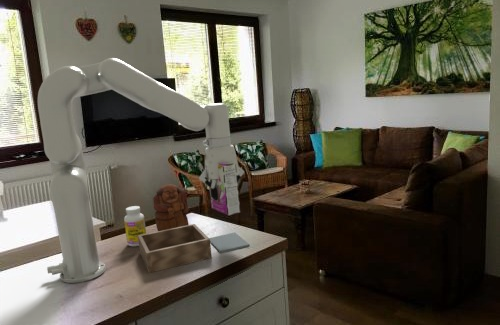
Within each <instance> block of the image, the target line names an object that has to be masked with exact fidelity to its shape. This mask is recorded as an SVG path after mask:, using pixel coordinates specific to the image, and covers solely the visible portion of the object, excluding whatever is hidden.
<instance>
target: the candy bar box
mask: <svg viewBox="0 0 500 325" xmlns="http://www.w3.org/2000/svg"><path fill="white" fill-rule="evenodd" d="M218 171H219V179H218V180H216V183H215V188H216V189H217V200H214V199H213V198H212V197H211V192H210V191H209V197H210V205H211V206H210V207H211V209H212V210H214V211H217V212H219V213H222V214H224V215H226V216H232V215H235V214H239V213H241V206H240V197H239V196H240V195H239V185H238V182H237V172H236V163H233V162H229V163H222V164H218ZM207 178H208V177H207ZM207 180H208V181H209V180H210V178H208V179H207ZM208 188H209V189H208V190H210V187H209V186H208Z"/></svg>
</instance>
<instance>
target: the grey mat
mask: <svg viewBox="0 0 500 325" xmlns="http://www.w3.org/2000/svg"><path fill="white" fill-rule="evenodd" d="M208 238H209V239H210V245H212V246H213V247H214V248H215V249H216V250H217V251H218V252H219V253H220V254H221V253H222V254H223V253H225V252H230V251H234V250H238V249H239V250H240V249H242V248H246V247H250V243H249V242H248V241H246V240H245V239H244V238H242V237H241V235H239V234H238V233H236V232H232V233H227V234H226V233H225V234H222V235H217V236H212V237H208Z"/></svg>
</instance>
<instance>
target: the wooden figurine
mask: <svg viewBox="0 0 500 325" xmlns="http://www.w3.org/2000/svg"><path fill="white" fill-rule="evenodd" d="M152 199H153V209H154V210H155V213H154V218H155V225H156V228H157V229H156V230H157V231H162V230H167V229H172V228H177V227H182V226H186V225H190V224H189V220H188V219H189V218H188V216H187V215H188V214H189V204H188V197H187V193H186V191H185V190H183V189H181V188H180V187H178V186H177V185H175V184H174V183H168V184H163V185H162V186H160V187H159V188H158V189H157V191H156V194H155V195H154V196H153V197H152Z"/></svg>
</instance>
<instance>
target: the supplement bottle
mask: <svg viewBox="0 0 500 325" xmlns="http://www.w3.org/2000/svg"><path fill="white" fill-rule="evenodd" d="M125 213H126V215H125V216H124V229H125V236H126V244H127V245H128V246H130V247H139V240H138V235H143V234H147V230H146V222H145V215H144V214H143V213H141V207H140V206H139V205H134V206H133V205H132V206H128V207H126V208H125Z"/></svg>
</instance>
